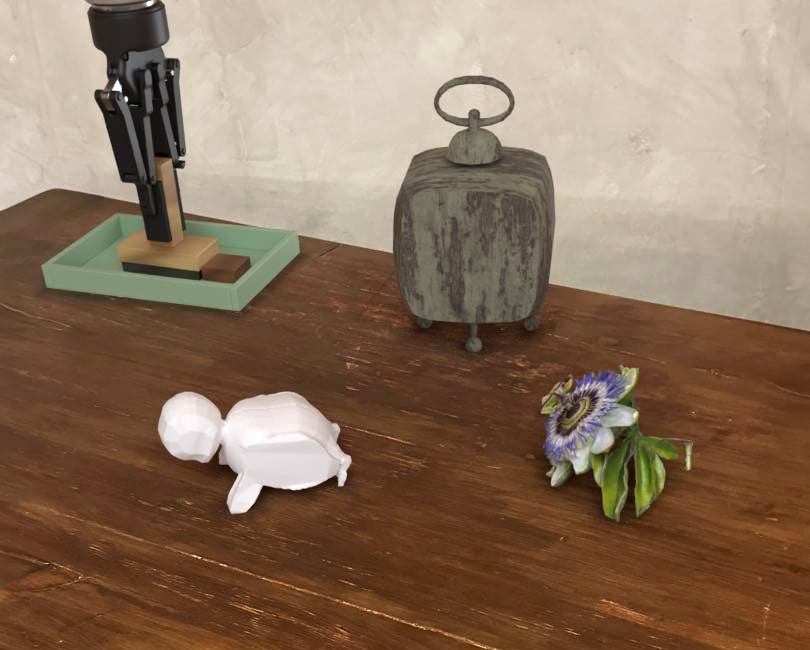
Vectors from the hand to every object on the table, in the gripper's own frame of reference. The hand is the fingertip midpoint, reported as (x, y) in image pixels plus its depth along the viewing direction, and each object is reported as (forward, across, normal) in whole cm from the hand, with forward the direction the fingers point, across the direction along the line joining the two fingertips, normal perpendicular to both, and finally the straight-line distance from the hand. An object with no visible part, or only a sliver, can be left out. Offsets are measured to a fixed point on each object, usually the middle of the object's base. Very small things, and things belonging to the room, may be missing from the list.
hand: (166, 234), depth 123 cm
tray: (+5, 0, 0) cm, 5 cm away
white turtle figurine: (+5, -35, -27) cm, 45 cm away
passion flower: (+5, -27, -54) cm, 61 cm away
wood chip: (+4, 0, -7) cm, 8 cm away
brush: (+4, 0, 0) cm, 4 cm away
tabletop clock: (+5, -7, -37) cm, 38 cm away
